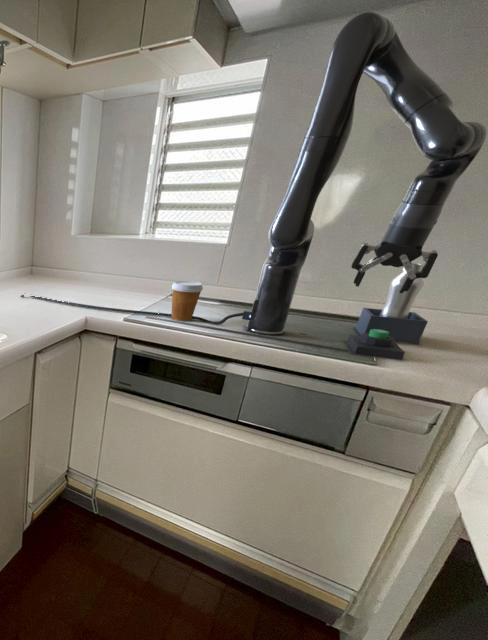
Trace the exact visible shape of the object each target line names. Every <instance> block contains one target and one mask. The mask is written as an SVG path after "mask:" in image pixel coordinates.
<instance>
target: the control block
mask: <svg viewBox="0 0 488 640" xmlns="http://www.w3.org/2000/svg"><path fill="white" fill-rule="evenodd" d="M368 335H369V333H361V334H359V335H356V334H349V335H348V336H347V340H346V343H347V345H348V346H349V348H350V349H351V351H352V352H353V355H361V356H367V357H375V358H382V359H389V360H395V361H396V360H398V361H402V360H403V358H404V356H405V354H406V352H405V351H404V350H403V349H402V347H400V346H399V345H398V344H397V343H396V342H395V338H394V337H391V336H388V337H387V339H381V338H374V337H370V336H368Z"/></svg>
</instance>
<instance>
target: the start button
mask: <svg viewBox="0 0 488 640" xmlns="http://www.w3.org/2000/svg"><path fill="white" fill-rule="evenodd" d="M388 334H389V332H388V331H384V330H379V329H371V330H370V333H369V335H368V336H370V337H374V338H381V339H387V337H388Z"/></svg>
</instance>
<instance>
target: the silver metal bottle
mask: <svg viewBox="0 0 488 640" xmlns="http://www.w3.org/2000/svg"><path fill="white" fill-rule="evenodd" d="M411 263H412V262H411ZM412 265H413V268H414V270H415V272H420V271H421V270H422V268H423V266H424V264H423V263H412ZM402 267H403V268H402V269H401V271H402V272H401V273H399V274H398V275H397V276H395V277H394V278H393V279H392V280H391V281H390V283H389V288H388V292H387V297H386V300H385V303H384V305H383V308H382V311H381V313H380V315H379V316H384V317H394V318H404V319H407V318H408V314H409V312H411V308H412V306H413V304H414V302H415V301H416V298H417V297H418V295H419V294H420V292H421V291H422V289H423V287H424V280H423V279H424V278H417V279H415V280H414V281H413V283H412V285H411V287H410V288H409V290H408V291H407V292H406V291H404V292H403V293H399V290H400V288H401V286H402V284H403V282H404V280H405V279H406V277H408V274H407V272H406V270H405V268H404V266H402Z"/></svg>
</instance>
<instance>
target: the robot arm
mask: <svg viewBox="0 0 488 640" xmlns="http://www.w3.org/2000/svg"><path fill="white" fill-rule="evenodd" d="M363 74H364V75H365V76H367V77H368V78H370V80H372V81H373V82H374V83H375V84H376V85H377V86H378V87H379V89H380V91H381V93H382V94H383V96H384V98H385V100H386V101H387V104H388V106H389V107H390V109H391V110H392V111H393V113H394V114H395V115H396V116H397V117H398V118H399V120H400V121H401V122H402V123H403V124H404V126H406V128H408V130H410V133H411V136H412V139H413V141H414V143H415V145H416V147H417V150H419V152H420V154H421V155H422V156H424V157H425V158H426V159H428V160H430V162H429V163H428V165H427V166H426V168H425V169H424V170H423V171H422V172H421V173H419V174H418V175H416V176H415V177H414V178H413V180H412V181H411V182H410V184H409V187H408V189H407V190H406V192H405V195H404V196H403V198H402V200H401V202H400V204H399V206H398V207H397V208H396V210H395V212H394V214H393V217H391V220H390V222H389V224H388V226H387V228H386V230H385V232H384V235H383V236H382V238H381V240H380V242H379V244H376V245H372V244H369V243H368V242H364V243H362V245H361V246H360V248H359V250H358V252H357V254H356V255H355V257H354V259H353V261H352V263H351V269H353V270H356V271H357V273H356V275H355V277H354V279H353V284H354V285H355V287H360V285H361V283H362V281H363V279H364V276H365V275H366V272H367V271H368V270H369V269H371V268H373V267H376V266H377V265H381V266H384V267H390V266H391V267H393V268H401V267H404V268H405V270H406V272H407V274H408V277H406V279H405V280H404V282H403V284H402V286H401V288H400V290H399V293H403V292H404V291H406V292H407V291H408V290H409V288H410V287H411V285H412V283H413V281H414V280H415V279H417V278H422V279H426V278H428V277H429V275H430V273H431V270H432V269H433V267H434V264H435V262H436V260H437V259H438V256H439V253H438V251H437V250H431V251H428V250H423V247H424V245H425V243H426V242H427V240H428V238H429V236H430V234H431V232H432V231H433V229H434V227H435V225H436V224H437V222H438V219H439V218H440V216H441V213H442V210H443V208H444V206H445V204H446V202H447V200H448V198H449V196H450V195H451V193H452V190H453V189H454V187H455V185H456V183H457V181H458V180H459V179H460V177H461V176H462V175H463V174H464V173H465V172H466V170H467V169H468V168H469V166H470V165H471V163H472V162H473V161H474V160H475V158H476V157H477V155H479V153H480V151H481V149H482V148H483V146H484V143H485V141H486V139H487V134H488V133H487V127H486V126H485V125H484V124H483V123H481V122H479V121H477V120H476V121H475V120H473V121H472V120H471V121H469V120H468V121H462V120H460V119H459V118H458V117H457V115H456V114H455V113H454V111H453V108H454V101H453V100H452V98H451V97H450V96H449V95H448V93H447V92H446V91H445V90H444V89H443V88H442V87H441V86H440V85H439V83H437V82H436V81H435V80H434V79H433V78H432V77H431V76H430V75H429V74H428V73H426V72H425V70H424V69H422V68H421V67H420V66H419V65H418V64H417V63H416V62H415V61H414V60H413V58H412V57H411V56H410V54H409V53H408V51H407V50H406V48H405V47H404V45H403V43H402V41H401V39H400V36H399V34H398V32H397V30H396V28H395V25H394V23H393V21H391V20H390V19H389V18H387V17H385V16H383V15H382V14H380V13H378V12H376V11H364V12H361V13H359V14H357V15H355V16H353V17H352V18H351V19H350V20H349V21H347V23H346V24H344V25H343V27H342V29H341V30H340V31H339V33H338V34H337V36H336V38H335V40H334V41H333V45H332V48H331V52H330V55H329V59H328V63H327V67H326V71H325V75H324V79H323V83H322V86H321V90H320V93H319V95H318V98H317V100H316V104H315V106H314V109H313V112H312V115H311V117H310V121H309V123H308V125H307V128H306V131H305V133H304V136H303V139H302V142H301V144H300V147H299V150H298V153H297V155H296V159H295V162H294V166H293V168H292V172H291V175H290V178H289V182H288V185H287V189H286V192H285V194H284V198H283V200H282V202H281V204H280V206H279V208H278V211H277V213H276V215H275V217H274V219H273V221H272V223H271V224H270V227H269V230H268V235H267V238H268V241H269V244H270V249H269V252H268V255H267V258H266V259H265V261H264V262H263V264H262V266H261V272H260V275H259V280H258V283H257V288H256V292H255V296H254V298H253V302H252V307H251V308H245V309H244V310H243V312H238V313H231V314H229V315H227V316H225V317H223V318H222V319H221V320H218V321H217V320H216V321H213V320H209V319H206V318H203V317H201V316H195V315H193V316H192V319H191V320H196V321H200V322H203V323H207V324H211V325H222V324H225V322H227V321H228V320H229V319H233V318H237V317H241V320H243V321H248V322H247V325H246V331H248V332H253V333H257V334H262V335H272V336H278V335H282V334H284V329H285V326H286V324H287V323H286V322H287V320H288V316H289V313H290V309H291V305H292V302H293V298H294V295H295V292H296V288H297V285H298V281H299V278H300V274H301V271H302V270H303V269H302V268H303V267H304V265H305V262H306V260H307V257H308V253H309V250H310V247H311V244H312V241H313V237H314V235H315V234H314V233H315V224H314V221H313V220H312V216H313V212H314V209H315V206H316V203H317V200H318V198H319V196H320V194H321V192H322V190H323V189H324V188H325V186H326V183H327V182H328V181H329V180H330V177H331V176H332V174H333V173H334V171H335V170H336V167H337V166H338V164H339V162H340V160H341V158H342V156H343V153H344V150H345V148H346V146H347V143H348V141H349V138H350V135H351V132H352V129H353V123H354V117H355V107H356V97H357V90H358V87H359V84H360V81H361V78H362V76H363ZM373 251H374V254H375V256H374V257H373V258H371V259H370V260H368V261H367V262H364V263H363V264H361V262H362V260H363V258H364V256H365V255H368V254H370V253H371V252H373ZM420 257H422V260H423V262H424V264H423V265H424V266H423V268H422V270H421V271H420V272H415V270H414V268H413V265H412V262H413V261H415V260H417V259H419V258H420ZM35 296H36V295H35ZM35 296H29V297H31V298H33V299H37V300H38V299H39V300H44V301H47V302H54V303H58V304H64V305H68V306H69V305H71V306H75V307H82V308H87V309H88V308H89V309H95V310H102V311H111V312H120V313H129V314H137V315H147V316H159V317H170V318H171V314H172V313H164V312H156V311H155V312H153V311H143V310H133V309H124V308H116V307H115V308H114V307H105V306H98V305H93V304H92V305H91V304H84V303H77V302H71V301H66V300H61V301H57V300H58V299H55V300H52V299H53V298H50V299H47V298H48V297H45V298H42V297H43V296H40V297H35ZM20 297H22V298H24V297H25V296H24V295H23V294H21V295H20V296H19V298H20ZM62 301H64V302H62ZM68 302H69V303H68ZM158 313H159V314H158Z"/></svg>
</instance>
